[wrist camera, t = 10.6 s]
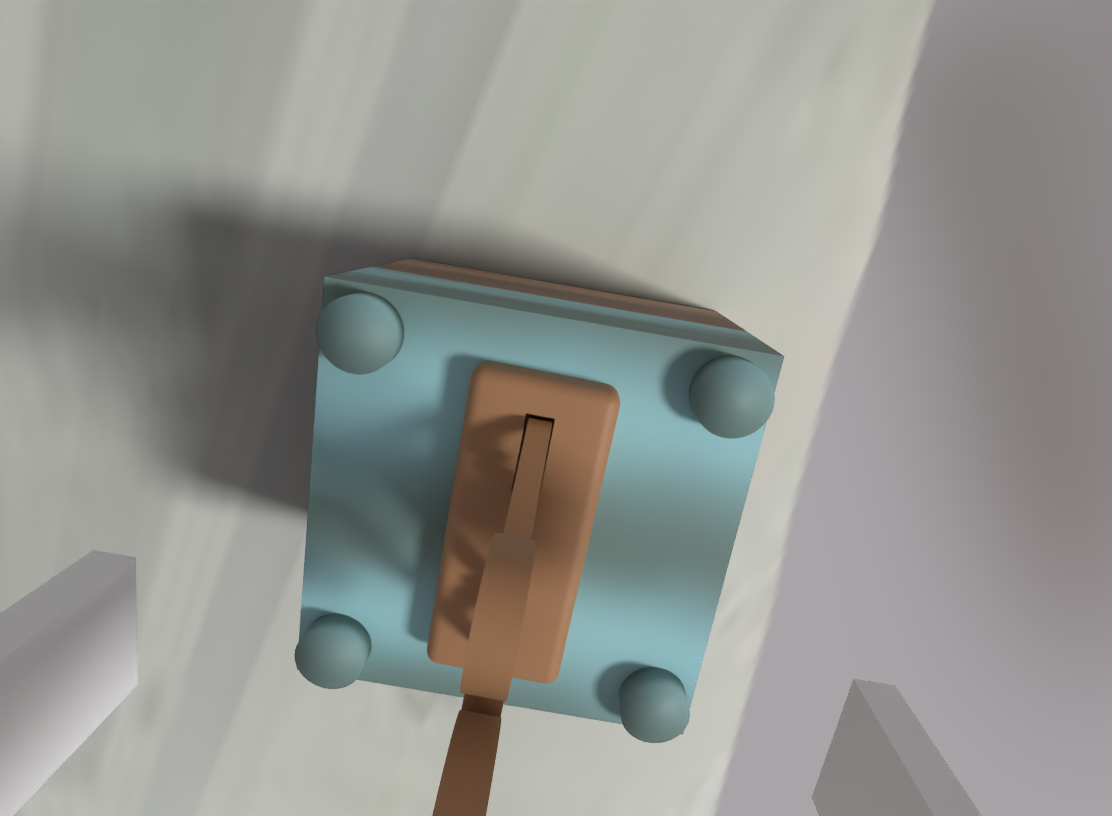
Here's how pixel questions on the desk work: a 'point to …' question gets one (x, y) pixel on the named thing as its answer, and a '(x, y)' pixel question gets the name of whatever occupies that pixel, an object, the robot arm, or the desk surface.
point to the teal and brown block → (430, 462)
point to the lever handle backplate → (513, 550)
